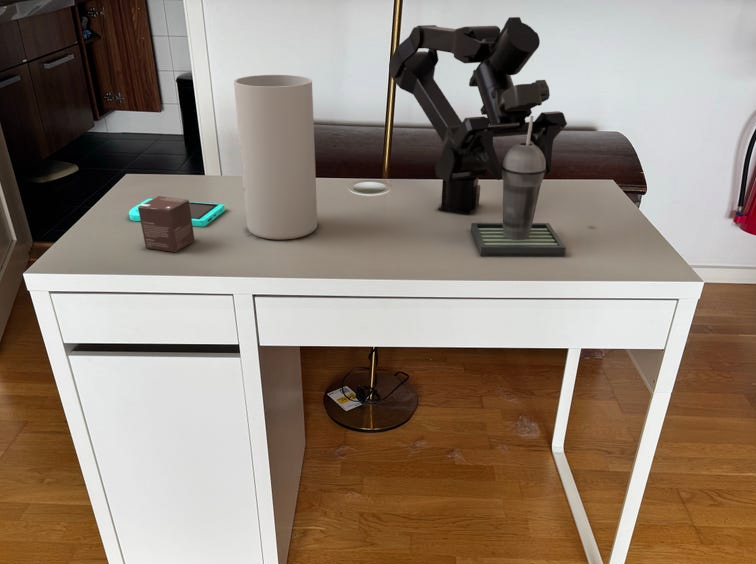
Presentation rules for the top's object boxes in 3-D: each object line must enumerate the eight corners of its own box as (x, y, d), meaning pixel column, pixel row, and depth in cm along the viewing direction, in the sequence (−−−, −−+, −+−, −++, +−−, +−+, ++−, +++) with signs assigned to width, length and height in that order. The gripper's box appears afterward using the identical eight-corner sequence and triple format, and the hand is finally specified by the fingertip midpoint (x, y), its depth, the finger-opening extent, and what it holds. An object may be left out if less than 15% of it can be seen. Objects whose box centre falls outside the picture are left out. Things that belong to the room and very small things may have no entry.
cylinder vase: (330, 224, 126) (326, 78, 113) (291, 246, 116) (282, 89, 104) (275, 213, 131) (265, 72, 118) (233, 233, 121) (217, 82, 109)
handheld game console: (150, 203, 135) (149, 196, 134) (226, 209, 132) (225, 202, 132) (123, 220, 126) (122, 213, 126) (204, 227, 124) (203, 219, 123)
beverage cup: (530, 227, 122) (544, 109, 112) (543, 242, 116) (559, 118, 105) (490, 228, 121) (501, 110, 111) (500, 243, 115) (513, 119, 105)
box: (195, 241, 118) (190, 199, 114) (175, 253, 113) (169, 210, 109) (165, 236, 119) (159, 195, 116) (144, 248, 114) (136, 205, 111)
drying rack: (480, 256, 113) (481, 247, 112) (470, 231, 124) (471, 222, 123) (564, 256, 114) (565, 247, 113) (547, 231, 124) (549, 222, 123)
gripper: (466, 63, 105) (495, 153, 102) (569, 59, 111) (599, 144, 108) (441, 107, 115) (466, 190, 112) (536, 101, 121) (563, 180, 118)
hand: (524, 176), depth 112 cm, fingers open, 9 cm apart
